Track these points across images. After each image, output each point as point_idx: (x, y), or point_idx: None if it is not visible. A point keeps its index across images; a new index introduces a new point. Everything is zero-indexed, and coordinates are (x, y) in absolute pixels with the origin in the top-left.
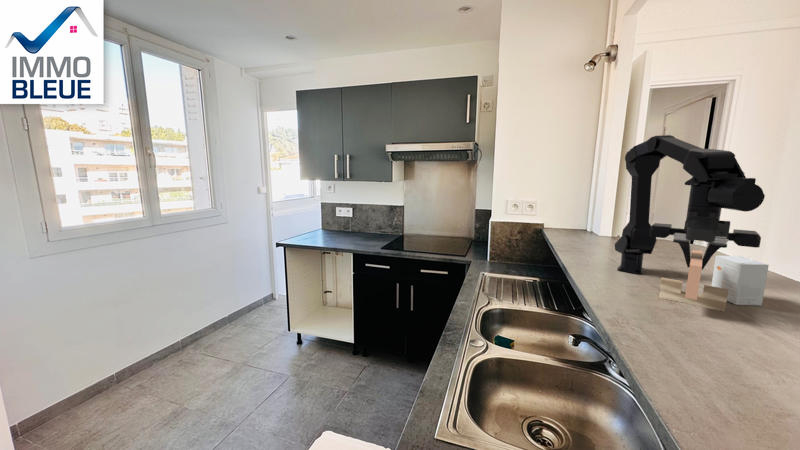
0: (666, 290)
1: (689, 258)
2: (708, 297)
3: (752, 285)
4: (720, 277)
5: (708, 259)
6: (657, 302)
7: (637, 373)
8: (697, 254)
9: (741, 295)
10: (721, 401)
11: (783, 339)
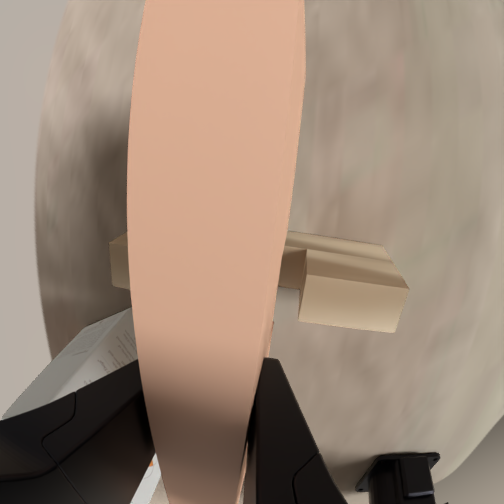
0: (366, 258)
1: (262, 416)
2: None
3: (64, 359)
4: None
5: (95, 384)
6: (395, 176)
7: None
8: (196, 499)
9: (104, 329)
10: None
11: (61, 64)
